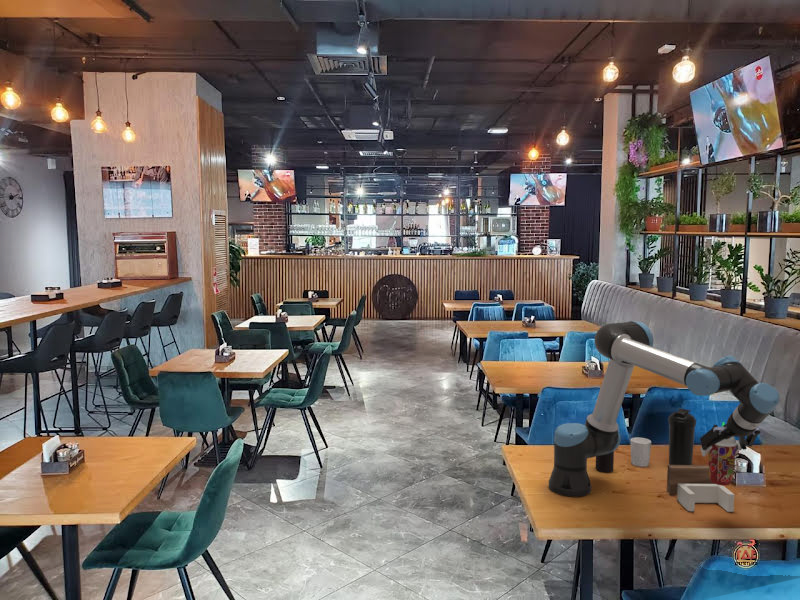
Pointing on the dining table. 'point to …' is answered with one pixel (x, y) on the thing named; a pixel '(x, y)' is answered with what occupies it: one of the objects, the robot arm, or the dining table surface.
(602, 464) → the vinegar
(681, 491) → the frame
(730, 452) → the smoothie
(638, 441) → the white cup
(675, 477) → the backstop wall
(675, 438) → the water bottle
